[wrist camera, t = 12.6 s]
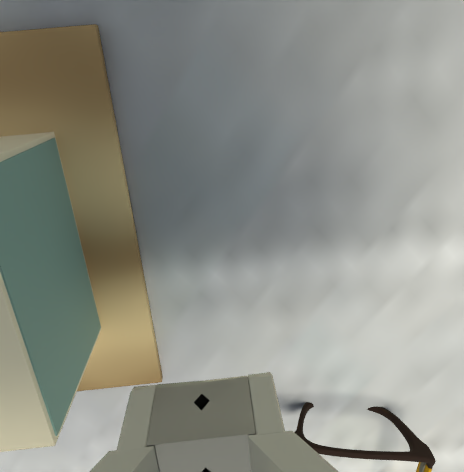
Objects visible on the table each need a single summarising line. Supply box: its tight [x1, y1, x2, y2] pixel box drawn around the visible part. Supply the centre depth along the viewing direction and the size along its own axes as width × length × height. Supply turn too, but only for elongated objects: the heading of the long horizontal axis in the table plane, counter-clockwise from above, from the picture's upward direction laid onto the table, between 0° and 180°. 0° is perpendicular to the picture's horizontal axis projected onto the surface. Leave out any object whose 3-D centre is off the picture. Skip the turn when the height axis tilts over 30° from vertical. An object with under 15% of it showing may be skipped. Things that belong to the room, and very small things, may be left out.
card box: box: [0, 132, 102, 452], centre depth 14 cm, size 9×3×6 cm, turn 5°
